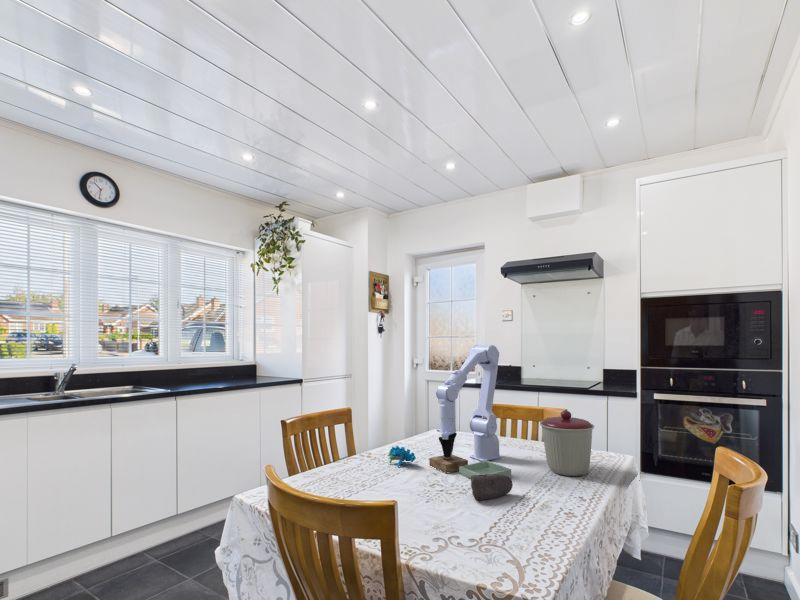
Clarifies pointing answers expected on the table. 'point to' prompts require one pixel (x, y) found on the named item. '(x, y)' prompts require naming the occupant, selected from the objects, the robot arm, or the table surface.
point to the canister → (567, 444)
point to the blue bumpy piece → (401, 455)
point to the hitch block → (447, 463)
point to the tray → (484, 469)
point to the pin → (449, 458)
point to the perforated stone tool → (490, 486)
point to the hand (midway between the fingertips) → (448, 455)
